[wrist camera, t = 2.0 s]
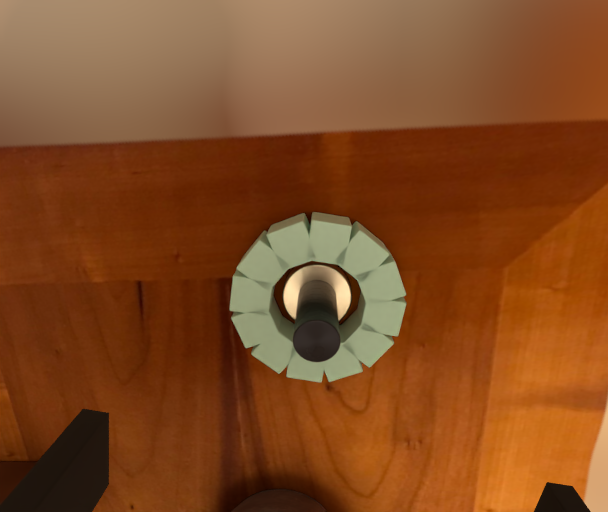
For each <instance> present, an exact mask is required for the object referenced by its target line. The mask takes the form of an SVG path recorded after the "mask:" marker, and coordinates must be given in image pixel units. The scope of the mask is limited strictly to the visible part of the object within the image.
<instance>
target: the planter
mask: <svg viewBox="0 0 608 512" xmlns="http://www.w3.org/2000/svg"><path fill="white" fill-rule="evenodd" d="M231 512H327V511H326V510H325V508H324V507H323V506H322V505H321V504H320V503H318V502H317V501H316V500H314V499H313V498H311V497H309V496H307V495H305V494H303V493H300V492H297V491H293V490H286V489H272V490H266V491H261V492H258V493H256V494H253V495H251V496H250V497H248V498H246V499H245V500H244V501H242V502H241V503H240V504H239V505H238V506H237V507H235V508H234V509H233V510H232V511H231Z"/></svg>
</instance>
